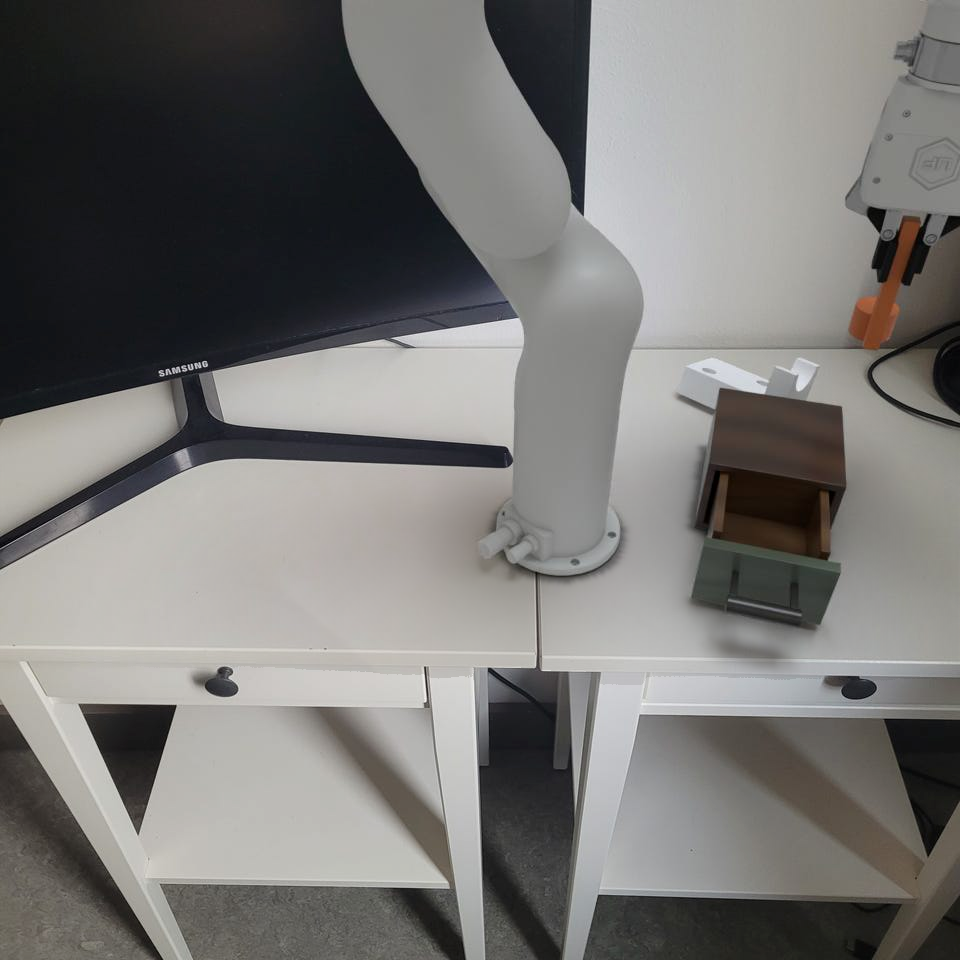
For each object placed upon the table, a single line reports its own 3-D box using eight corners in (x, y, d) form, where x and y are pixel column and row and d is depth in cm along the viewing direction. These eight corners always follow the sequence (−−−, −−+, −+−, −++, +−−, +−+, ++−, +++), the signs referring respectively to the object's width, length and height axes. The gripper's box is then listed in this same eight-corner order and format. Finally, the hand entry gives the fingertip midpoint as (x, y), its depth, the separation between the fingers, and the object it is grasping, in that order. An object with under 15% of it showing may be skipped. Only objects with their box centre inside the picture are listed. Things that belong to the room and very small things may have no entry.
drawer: (820, 665, 70) (843, 613, 65) (685, 635, 72) (698, 583, 68) (818, 532, 82) (837, 480, 78) (703, 510, 85) (714, 459, 80)
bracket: (797, 422, 99) (820, 365, 96) (772, 435, 94) (795, 375, 91) (704, 382, 106) (722, 327, 103) (677, 392, 101) (695, 335, 98)
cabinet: (822, 552, 81) (847, 486, 76) (694, 527, 84) (708, 462, 79) (820, 469, 91) (842, 405, 86) (706, 449, 94) (719, 387, 88)
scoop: (892, 353, 79) (937, 224, 71) (848, 347, 80) (888, 219, 72) (889, 326, 83) (932, 200, 75) (847, 320, 84) (885, 196, 76)
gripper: (859, 67, 63) (803, 285, 75) (1088, 80, 59) (991, 308, 71) (856, 44, 68) (805, 251, 80) (1067, 54, 64) (980, 270, 76)
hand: (893, 276), depth 76 cm, fingers closed on scoop, 1 cm apart
